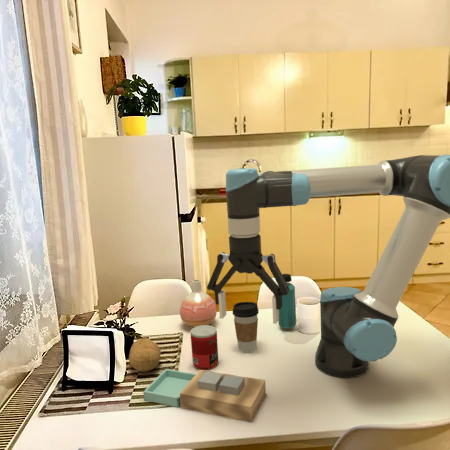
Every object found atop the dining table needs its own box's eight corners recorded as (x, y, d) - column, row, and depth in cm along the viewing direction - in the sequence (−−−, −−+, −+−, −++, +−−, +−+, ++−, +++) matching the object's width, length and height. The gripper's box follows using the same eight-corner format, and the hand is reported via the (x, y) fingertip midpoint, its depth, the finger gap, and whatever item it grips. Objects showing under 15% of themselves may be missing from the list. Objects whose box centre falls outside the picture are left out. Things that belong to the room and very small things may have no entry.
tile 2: (244, 384, 107) (244, 377, 107) (238, 395, 103) (237, 388, 102) (226, 381, 109) (226, 374, 109) (219, 392, 105) (219, 384, 104)
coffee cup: (252, 356, 130) (250, 311, 127) (229, 351, 134) (227, 307, 131) (264, 345, 137) (262, 302, 134) (242, 340, 141) (240, 298, 138)
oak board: (265, 394, 110) (265, 380, 109) (251, 422, 99) (251, 407, 98) (200, 382, 117) (199, 369, 116) (180, 407, 106) (179, 393, 105)
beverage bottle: (298, 332, 145) (296, 277, 142) (279, 332, 145) (277, 278, 142) (295, 324, 152) (293, 271, 148) (277, 325, 152) (275, 272, 148)
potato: (157, 353, 135) (155, 330, 134) (166, 374, 122) (164, 349, 121) (126, 360, 132) (124, 336, 130) (132, 382, 119) (129, 356, 117)
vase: (180, 320, 161) (177, 276, 158) (215, 316, 162) (213, 273, 159) (181, 335, 148) (177, 288, 144) (219, 331, 149) (216, 284, 146)
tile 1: (223, 381, 110) (222, 374, 109) (215, 391, 105) (215, 384, 105) (206, 378, 112) (205, 371, 111) (198, 388, 107) (197, 381, 107)
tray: (199, 382, 117) (198, 374, 116) (179, 407, 106) (178, 398, 106) (166, 376, 121) (165, 368, 120) (144, 400, 110) (143, 391, 109)
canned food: (215, 371, 122) (213, 336, 120) (189, 369, 124) (187, 335, 122) (221, 358, 130) (219, 325, 128) (196, 357, 131) (194, 324, 129)
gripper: (300, 231, 97) (302, 317, 101) (202, 230, 106) (208, 309, 110) (293, 238, 90) (296, 330, 94) (190, 236, 99) (196, 320, 103)
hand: (249, 319), depth 102 cm, fingers open, 13 cm apart
